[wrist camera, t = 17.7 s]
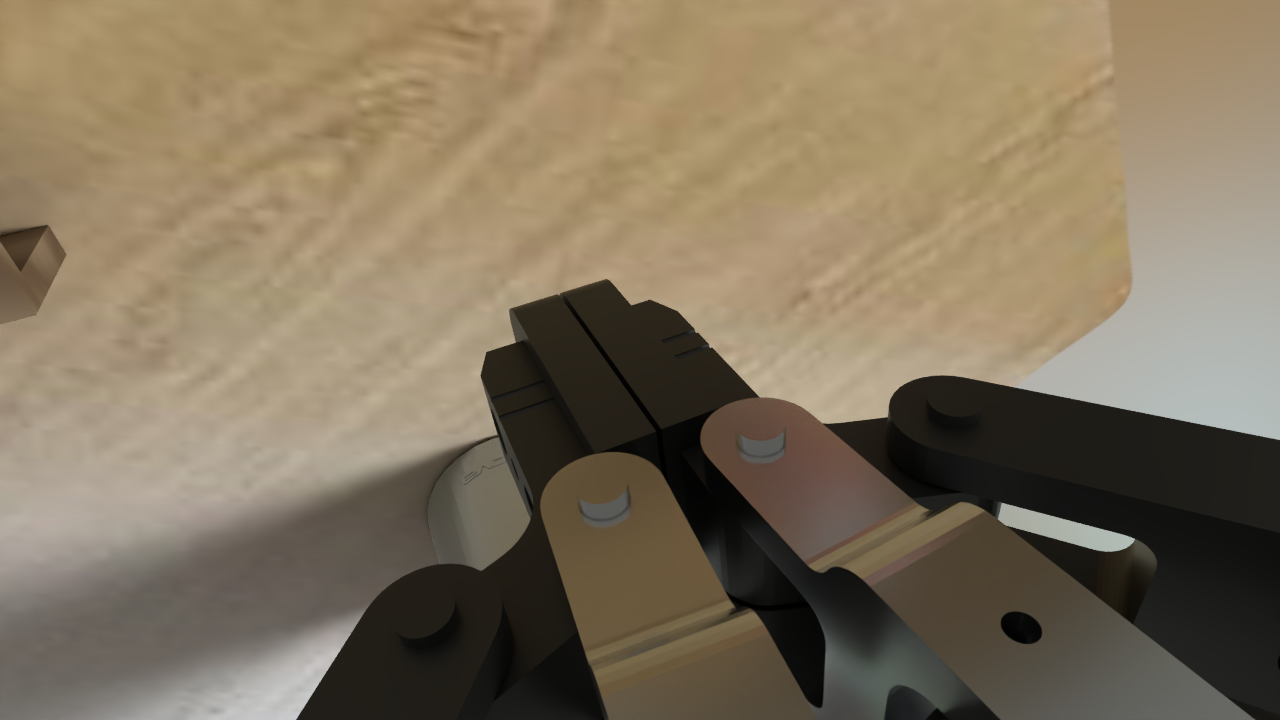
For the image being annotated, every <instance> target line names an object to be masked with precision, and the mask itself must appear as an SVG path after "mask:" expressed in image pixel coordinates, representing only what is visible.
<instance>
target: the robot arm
mask: <svg viewBox="0 0 1280 720" xmlns="http://www.w3.org/2000/svg"><path fill="white" fill-rule="evenodd" d="M509 313H510V320H511V324H512V328H513V332H514V336H515V340H516V343H514V344H510V345H507V346H504V347H501V348H498V349H495V350H492V351H489V352H486V356H485V360H484V364H483V368H482V372H481V379H482V383H483V386H484V390H485V393H486V396H487V400H488V403H489V407H490V410H491V413H492V417H493V420H494V424H495V427H496V431H497V434H498V437H497V438H494V439H491V440H489V441H486V442H484V443H482V444H480V445H477V446H475V447H474V448H472V449H470V450H469V451H467V452H466V453H464V454H463V455H461V456H460V457H459V458H457V459H456V460H455V461H454V462H453V463H452V464H451V465H450V466H449V467H448V468H447V469H446V470H445V471H444V473H443V474H442V475H441V477H440V478H439V479H438V481H437V482H436V484H435V486H434V488H433V491H432V493H431V495H430V498H429V503H428V509H427V516H428V525H429V529H430V533H431V537H432V541H433V545H434V548H435V552H436V556H437V560H438V565H433V566H429V567H425V568H422V569H419V570H416V571H414V572H412V573H410V574H407V575H405V576H403V577H402V578H400V579H399V580H397V581H395V582H394V583H392V584H391V585H390V586H389V587H387V588H386V589H385V590H384V591H382V592H381V593H380V594H379V595H378V596H377V597H376V599H375V600H374V601H373V602H372V603H371V604H370V606H369V607H368V608H367V610H366V611H365V613H364V614H363V616H362V617H361V619H360V621H359V622H358V624H357V625H356V627H355V628H354V630H353V632H352V633H351V635H350V636H349V638H348V639H347V641H346V642H345V644H344V646H343V647H342V649H341V650H340V652H339V653H338V655H337V657H336V658H335V660H334V661H333V663H332V664H331V666H330V668H329V669H328V671H327V672H326V674H325V675H324V677H323V678H322V680H321V682H320V683H319V685H318V686H317V688H316V689H315V691H314V693H313V694H312V696H311V697H310V699H309V700H308V702H307V704H306V705H305V707H304V708H303V710H302V711H301V713H300V715H299V716H298V718H297V719H296V720H1280V440H1276V439H1271V438H1266V437H1261V436H1256V435H1251V434H1245V433H1241V432H1235V431H1230V430H1226V429H1220V428H1216V427H1210V426H1206V425H1200V424H1196V423H1190V422H1186V421H1180V420H1175V419H1170V418H1165V417H1160V416H1155V415H1150V414H1145V413H1140V412H1135V411H1130V410H1125V409H1120V408H1115V407H1110V406H1105V405H1100V404H1095V403H1090V402H1085V401H1080V400H1074V399H1070V398H1064V397H1059V396H1054V395H1049V394H1044V393H1039V392H1034V391H1029V390H1024V389H1019V388H1014V387H1009V386H1004V385H999V384H994V383H989V382H984V381H979V380H974V379H969V378H963V377H957V376H943V375H942V376H929V377H923V378H919V379H916V380H913V381H910V382H908V383H906V384H904V385H903V386H901V387H900V388H899V389H898V390H897V391H896V392H895V393H894V394H893V396H892V397H891V400H890V403H889V411H888V417H886V418H878V419H870V420H862V421H853V422H845V423H834V424H822V423H821V422H820V421H819V420H818V419H816V418H815V417H814V416H813V415H812V414H810V413H809V412H808V411H806V410H805V409H803V408H802V407H800V406H798V405H796V404H794V403H791V402H788V401H785V400H780V399H775V398H760V397H759V396H758V395H757V394H756V393H755V392H754V391H753V390H752V389H751V388H750V387H749V386H748V385H747V384H746V383H745V382H744V380H743V379H742V378H741V377H740V376H739V375H738V374H737V373H736V372H735V371H734V370H733V369H732V368H731V367H730V366H729V365H728V364H727V363H726V362H725V361H724V360H723V358H722V357H721V356H720V355H719V354H718V353H717V352H716V351H715V350H714V349H713V348H710V347H709V344H708V343H707V342H706V341H705V340H704V339H703V337H702V336H701V335H700V334H699V333H696V332H695V329H694V328H693V327H692V326H691V325H690V324H689V323H688V322H687V321H686V320H685V319H684V318H683V317H682V315H681V314H680V313H679V312H678V311H676V310H673V309H671V308H669V307H666V306H664V305H661V304H659V303H657V302H654V301H652V300H648V301H645V302H641V303H638V304H635V305H632V306H631V305H630V304H629V302H628V301H627V300H626V299H625V298H624V297H623V295H622V294H621V293H620V292H619V291H618V290H617V288H616V287H615V286H614V285H613V284H612V283H611V282H610V281H609V280H608V279H605V280H602V281H598V282H595V283H592V284H589V285H585V286H582V287H579V288H576V289H572V290H569V291H566V292H563V293H560V295H553V296H550V297H547V298H544V299H540V300H537V301H534V302H531V303H527V304H524V305H521V306H518V307H514V308H511V309H510V310H509ZM1001 503H1005V504H1009V505H1013V506H1017V507H1020V508H1025V509H1028V510H1032V511H1036V512H1040V513H1044V514H1047V515H1051V516H1055V517H1059V518H1062V519H1066V520H1070V521H1074V522H1077V523H1081V524H1085V525H1089V526H1093V527H1097V528H1100V529H1104V530H1108V531H1112V532H1116V533H1120V534H1123V535H1126V536H1129V537H1132V538H1134V539H1135V541H1134V542H1133V544H1131V545H1130V546H1129V547H1127V548H1126V549H1123V550H1120V551H1114V552H1103V551H1097V550H1093V549H1089V548H1086V547H1082V546H1078V545H1075V544H1071V543H1067V542H1064V541H1060V540H1057V539H1053V538H1049V537H1045V536H1042V535H1038V534H1035V533H1031V532H1027V531H1024V530H1020V529H1016V528H1013V527H1009V526H1006V525H1004V524H1003V523H1002V522H1000V521H999V520H998V516H999V512H1000V508H1001Z"/></svg>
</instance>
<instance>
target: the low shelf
mask: <svg viewBox="0 0 1280 720" xmlns="http://www.w3.org/2000/svg"><path fill="white" fill-rule="evenodd" d="M65 256H66V253H65V252H64V250H63V248H62V247H61V245H60V243H59V242H58V240H57V239H56V237H55V235H54V234H53V232H52V230H51V229H50V227H49V226H48V225H47V226H43V227H39V228H35V229H31V230H26V231H22V232H18V233H14V234H10V235H5V236H1V237H0V324H4V323H7V322H11V321H15V320H19V319H23V318H26V317H30V316H34V315H36V314H37V312H38V310H39V308H40V306H41V304H42V302H43V300H44V298H45V296H46V294H47V292H48V290H49V288H50V286H51V284H52V282H53V280H54V278H55V276H56V274H57V272H58V270H59V268H60V266H61V264H62V262H63V260H64V258H65Z"/></svg>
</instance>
